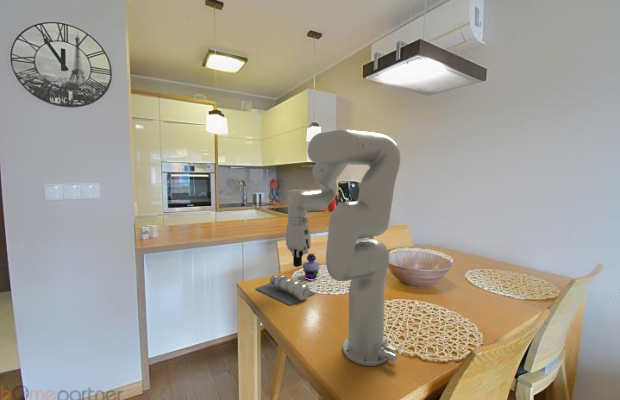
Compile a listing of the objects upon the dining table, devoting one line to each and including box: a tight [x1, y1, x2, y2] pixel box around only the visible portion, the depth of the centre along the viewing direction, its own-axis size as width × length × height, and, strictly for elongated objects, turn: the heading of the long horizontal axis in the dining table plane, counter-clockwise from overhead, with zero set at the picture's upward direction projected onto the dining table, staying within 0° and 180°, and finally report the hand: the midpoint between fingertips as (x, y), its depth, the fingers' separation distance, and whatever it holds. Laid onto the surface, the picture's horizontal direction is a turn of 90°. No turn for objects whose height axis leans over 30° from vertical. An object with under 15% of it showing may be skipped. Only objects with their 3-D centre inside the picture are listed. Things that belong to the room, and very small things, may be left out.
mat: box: [255, 282, 316, 307], centre depth 114 cm, size 22×14×1 cm, turn 47°
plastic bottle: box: [269, 274, 311, 302], centre depth 111 cm, size 6×7×20 cm
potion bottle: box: [302, 253, 321, 279], centre depth 129 cm, size 9×9×12 cm
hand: (297, 265), depth 107 cm, fingers closed
